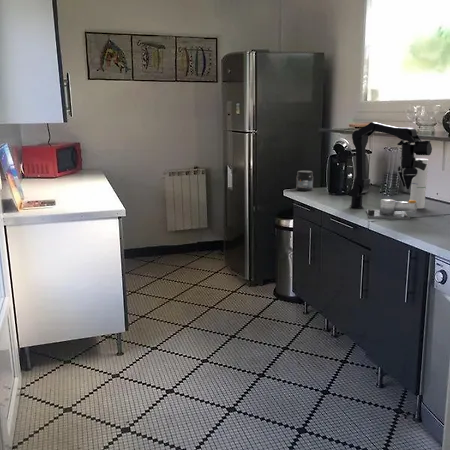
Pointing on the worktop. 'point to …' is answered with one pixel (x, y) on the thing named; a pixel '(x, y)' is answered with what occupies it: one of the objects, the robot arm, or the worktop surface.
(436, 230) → the worktop surface
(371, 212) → the flange
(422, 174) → the cylindrical container
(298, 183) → the supplement container
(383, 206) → the collar
